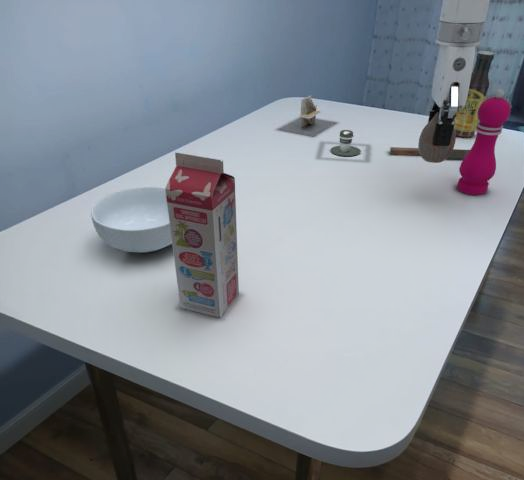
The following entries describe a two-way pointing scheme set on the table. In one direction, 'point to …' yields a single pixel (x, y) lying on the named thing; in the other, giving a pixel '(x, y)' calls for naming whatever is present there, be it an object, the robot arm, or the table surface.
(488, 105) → the pepper mill
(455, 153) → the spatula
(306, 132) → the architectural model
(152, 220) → the cereal bowl
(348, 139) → the grey round knobbed disc
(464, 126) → the sauce bottle
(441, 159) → the vase
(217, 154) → the table surface
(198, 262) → the juice carton
